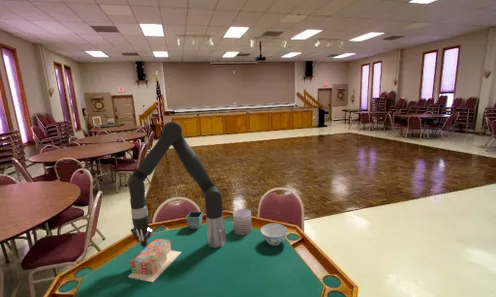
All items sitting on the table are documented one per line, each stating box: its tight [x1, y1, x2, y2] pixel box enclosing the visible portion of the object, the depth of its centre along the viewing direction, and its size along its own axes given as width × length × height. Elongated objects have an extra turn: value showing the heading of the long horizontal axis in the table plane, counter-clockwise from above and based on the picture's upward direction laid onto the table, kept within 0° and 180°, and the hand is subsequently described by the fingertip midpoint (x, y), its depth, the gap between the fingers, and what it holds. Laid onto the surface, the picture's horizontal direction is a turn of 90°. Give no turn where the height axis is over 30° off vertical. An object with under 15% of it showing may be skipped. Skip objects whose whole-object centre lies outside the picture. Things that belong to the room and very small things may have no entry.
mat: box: [127, 249, 182, 283], centre depth 131 cm, size 14×24×1 cm, turn 162°
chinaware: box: [260, 223, 288, 246], centre depth 145 cm, size 15×15×8 cm
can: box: [232, 208, 253, 236], centre depth 160 cm, size 11×11×12 cm
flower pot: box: [185, 211, 204, 230], centre depth 167 cm, size 9×9×9 cm
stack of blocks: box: [129, 238, 172, 275], centre depth 132 cm, size 21×6×12 cm
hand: (144, 246), depth 131 cm, fingers closed
